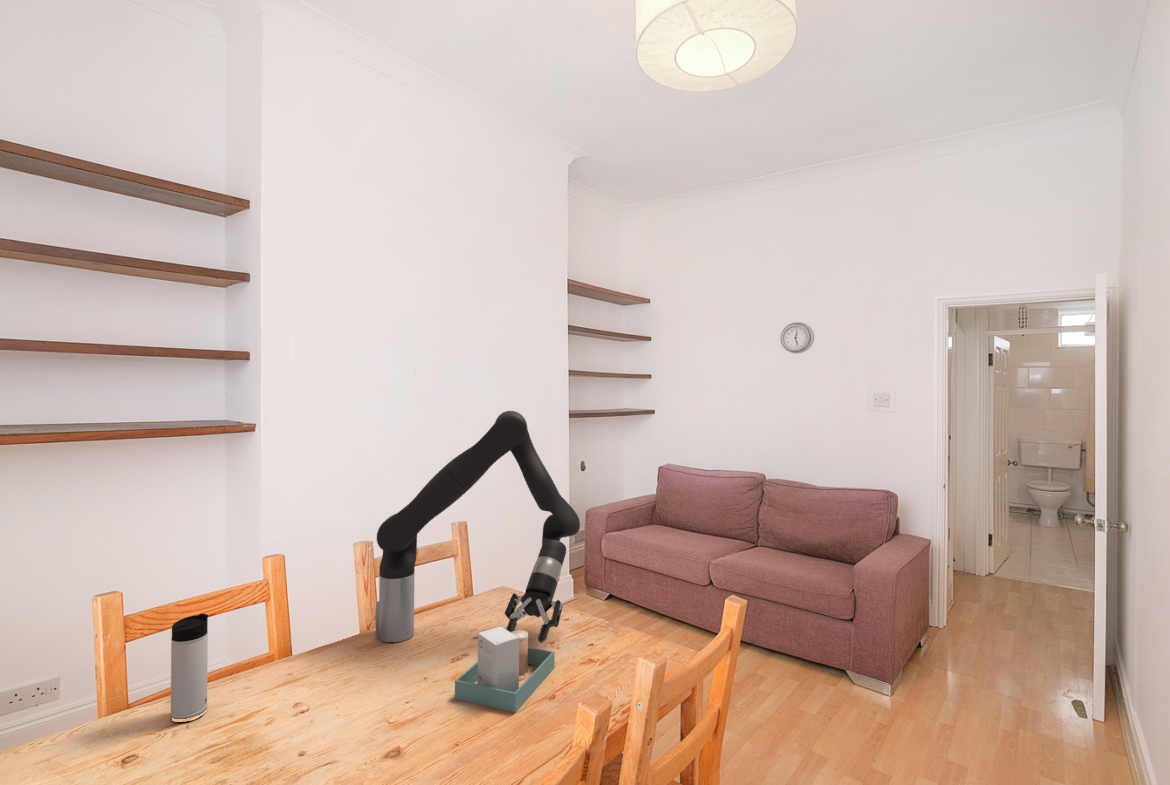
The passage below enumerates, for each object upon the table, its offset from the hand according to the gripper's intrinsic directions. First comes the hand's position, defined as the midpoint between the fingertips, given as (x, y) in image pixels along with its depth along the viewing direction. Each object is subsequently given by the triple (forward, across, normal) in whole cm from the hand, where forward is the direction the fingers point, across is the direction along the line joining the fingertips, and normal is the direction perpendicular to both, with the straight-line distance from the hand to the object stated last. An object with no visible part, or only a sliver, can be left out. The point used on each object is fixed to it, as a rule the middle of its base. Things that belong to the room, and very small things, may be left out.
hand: (524, 638), depth 143 cm
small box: (+14, 0, -4) cm, 15 cm away
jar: (+7, 0, +3) cm, 7 cm away
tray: (+11, 0, -1) cm, 11 cm away
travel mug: (+37, -55, -28) cm, 71 cm away
